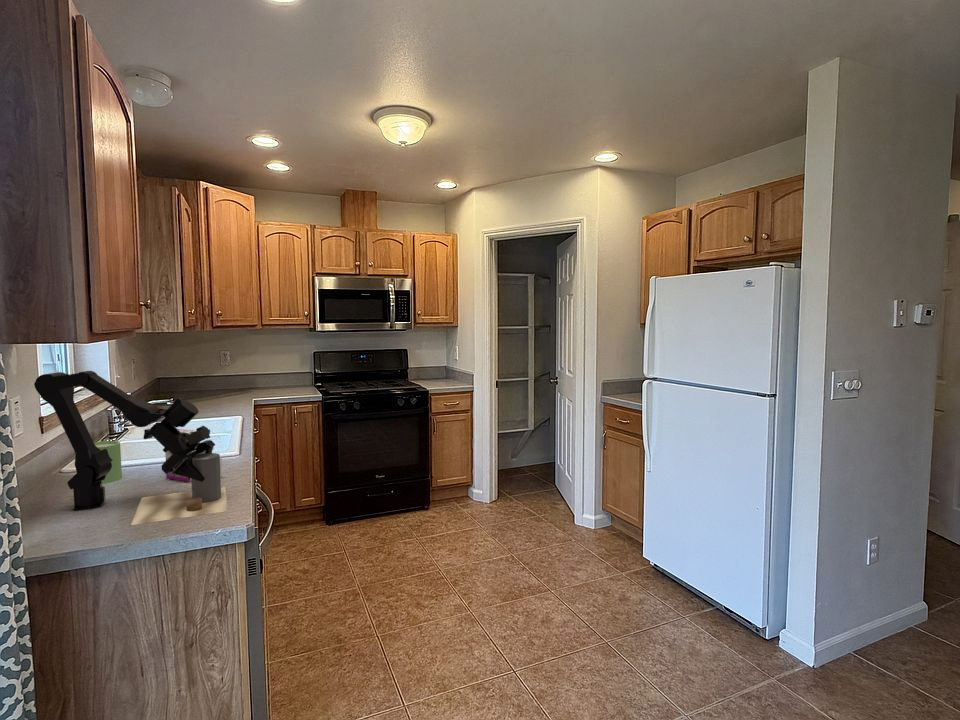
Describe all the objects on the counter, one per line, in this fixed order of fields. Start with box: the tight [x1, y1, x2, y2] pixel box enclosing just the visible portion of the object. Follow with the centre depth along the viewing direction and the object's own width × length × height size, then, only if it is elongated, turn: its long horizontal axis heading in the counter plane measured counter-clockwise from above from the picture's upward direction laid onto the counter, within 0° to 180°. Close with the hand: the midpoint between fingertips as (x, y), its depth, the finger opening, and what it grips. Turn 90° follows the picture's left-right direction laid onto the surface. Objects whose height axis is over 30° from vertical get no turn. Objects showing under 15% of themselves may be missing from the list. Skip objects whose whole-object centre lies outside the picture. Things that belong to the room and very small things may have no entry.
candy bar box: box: [164, 428, 201, 483], centre depth 175 cm, size 11×5×16 cm, turn 68°
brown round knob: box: [186, 498, 202, 511], centre depth 145 cm, size 4×4×2 cm
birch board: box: [130, 486, 228, 526], centre depth 149 cm, size 22×24×1 cm
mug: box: [94, 440, 123, 485], centre depth 174 cm, size 13×10×12 cm
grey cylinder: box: [191, 452, 222, 503], centre depth 153 cm, size 7×7×12 cm
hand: (210, 476), depth 153 cm, fingers closed on grey cylinder, 7 cm apart
